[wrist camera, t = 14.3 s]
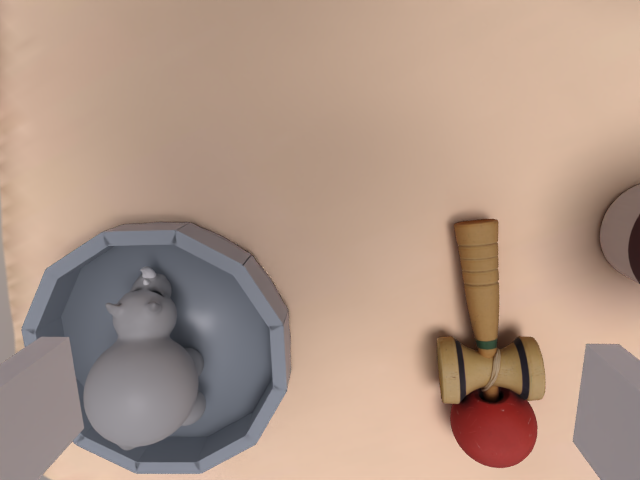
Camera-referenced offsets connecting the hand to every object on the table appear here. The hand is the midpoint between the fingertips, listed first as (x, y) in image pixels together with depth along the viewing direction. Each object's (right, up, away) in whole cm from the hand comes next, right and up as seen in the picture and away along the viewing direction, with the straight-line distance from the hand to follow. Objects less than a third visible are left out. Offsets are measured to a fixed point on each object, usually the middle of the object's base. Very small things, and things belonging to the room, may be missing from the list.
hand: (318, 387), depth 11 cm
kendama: (+12, -3, +23) cm, 26 cm away
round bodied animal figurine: (-12, -4, +23) cm, 26 cm away
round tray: (-12, -4, +24) cm, 27 cm away
